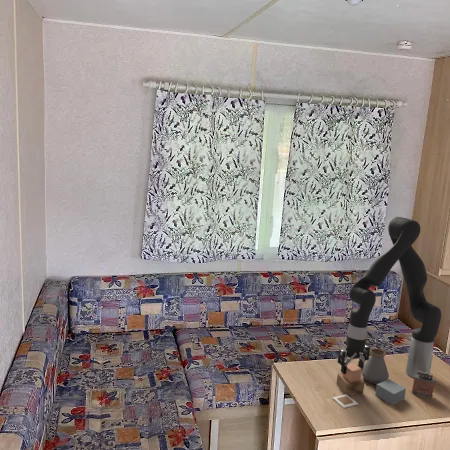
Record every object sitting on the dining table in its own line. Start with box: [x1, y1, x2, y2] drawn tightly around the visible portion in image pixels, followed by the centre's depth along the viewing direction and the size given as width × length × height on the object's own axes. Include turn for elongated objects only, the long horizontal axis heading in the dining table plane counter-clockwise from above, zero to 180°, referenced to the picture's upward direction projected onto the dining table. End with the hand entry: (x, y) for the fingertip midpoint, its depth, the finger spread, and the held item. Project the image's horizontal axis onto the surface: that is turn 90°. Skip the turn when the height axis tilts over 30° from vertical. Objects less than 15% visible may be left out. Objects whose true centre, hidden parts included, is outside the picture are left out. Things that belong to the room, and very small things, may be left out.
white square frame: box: [331, 394, 359, 409], centre depth 192 cm, size 7×7×1 cm
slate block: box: [374, 378, 407, 406], centre depth 197 cm, size 8×8×5 cm
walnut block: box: [336, 372, 365, 395], centre depth 201 cm, size 8×8×5 cm
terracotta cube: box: [343, 362, 362, 382], centre depth 200 cm, size 5×5×5 cm
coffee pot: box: [361, 341, 390, 385], centre depth 213 cm, size 21×12×15 cm, turn 17°
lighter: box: [411, 371, 436, 399], centre depth 200 cm, size 8×3×10 cm, turn 71°
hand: (351, 371), depth 200 cm, fingers open, 8 cm apart
